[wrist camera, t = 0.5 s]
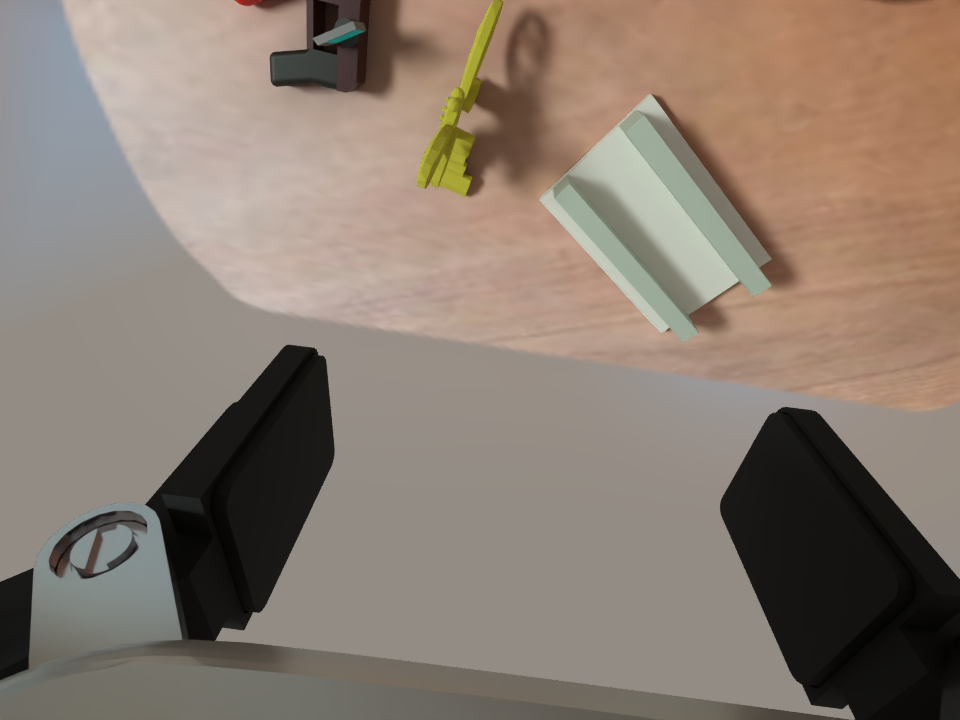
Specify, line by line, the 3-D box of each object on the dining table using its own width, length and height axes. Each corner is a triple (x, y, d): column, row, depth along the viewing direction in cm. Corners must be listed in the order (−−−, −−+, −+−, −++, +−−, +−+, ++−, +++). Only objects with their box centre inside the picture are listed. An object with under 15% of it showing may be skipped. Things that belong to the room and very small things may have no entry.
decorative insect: (463, 93, 38) (488, -15, 28) (500, 111, 38) (537, 11, 28) (402, 235, 36) (407, 172, 26) (442, 252, 36) (461, 197, 26)
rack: (649, 93, 32) (661, 98, 29) (767, 255, 37) (789, 274, 34) (539, 197, 37) (540, 211, 33) (658, 329, 42) (669, 351, 39)
